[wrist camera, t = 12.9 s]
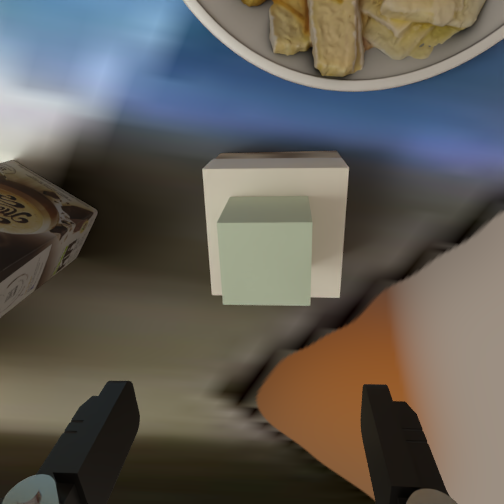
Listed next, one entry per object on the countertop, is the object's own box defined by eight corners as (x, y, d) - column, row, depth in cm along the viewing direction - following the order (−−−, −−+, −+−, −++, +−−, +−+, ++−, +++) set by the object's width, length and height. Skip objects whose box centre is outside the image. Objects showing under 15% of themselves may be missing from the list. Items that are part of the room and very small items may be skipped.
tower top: (220, 272, 35) (211, 295, 31) (212, 158, 31) (202, 169, 27) (334, 274, 34) (339, 297, 30) (341, 157, 30) (348, 167, 26)
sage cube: (234, 266, 30) (223, 304, 25) (229, 196, 28) (216, 222, 22) (306, 267, 29) (310, 305, 24) (308, 196, 27) (312, 222, 22)
